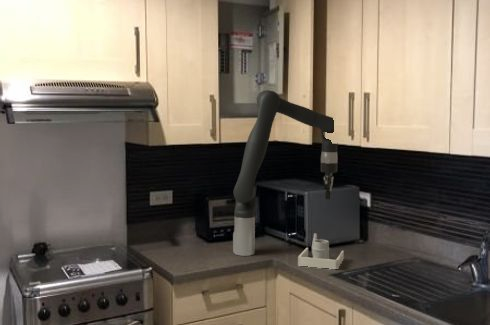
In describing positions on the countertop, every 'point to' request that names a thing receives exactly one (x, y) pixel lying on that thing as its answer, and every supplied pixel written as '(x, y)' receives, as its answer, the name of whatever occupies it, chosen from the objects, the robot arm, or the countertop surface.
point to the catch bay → (319, 261)
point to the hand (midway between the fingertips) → (327, 199)
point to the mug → (320, 248)
